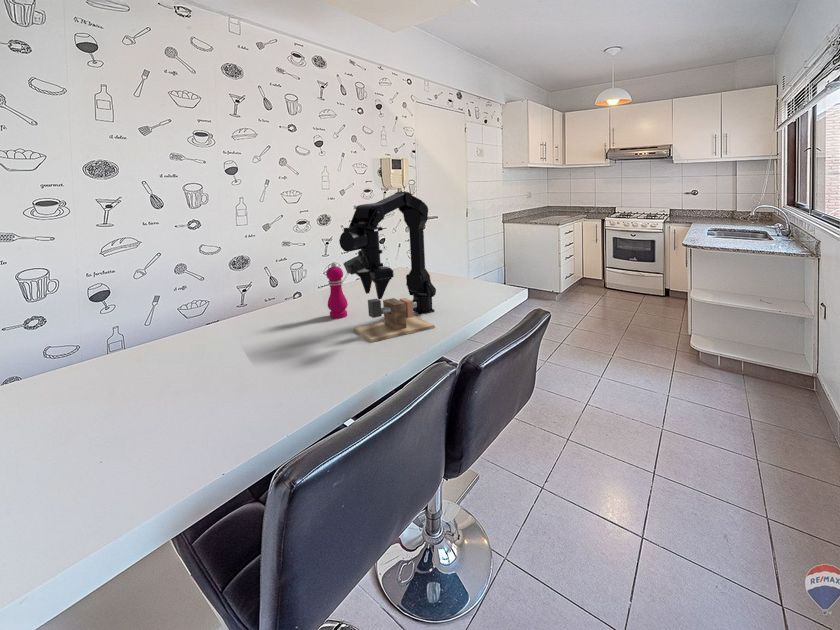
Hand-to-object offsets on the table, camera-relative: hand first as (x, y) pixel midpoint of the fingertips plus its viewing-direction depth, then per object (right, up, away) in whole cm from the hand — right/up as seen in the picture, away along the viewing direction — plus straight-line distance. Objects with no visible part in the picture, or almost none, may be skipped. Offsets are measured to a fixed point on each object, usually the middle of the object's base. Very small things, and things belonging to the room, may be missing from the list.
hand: (373, 296), depth 142 cm
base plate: (+6, -11, +7) cm, 14 cm away
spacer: (+10, -6, +8) cm, 14 cm away
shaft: (+6, -5, +5) cm, 9 cm away
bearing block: (+7, -11, +7) cm, 14 cm away
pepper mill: (-15, -7, +24) cm, 29 cm away
